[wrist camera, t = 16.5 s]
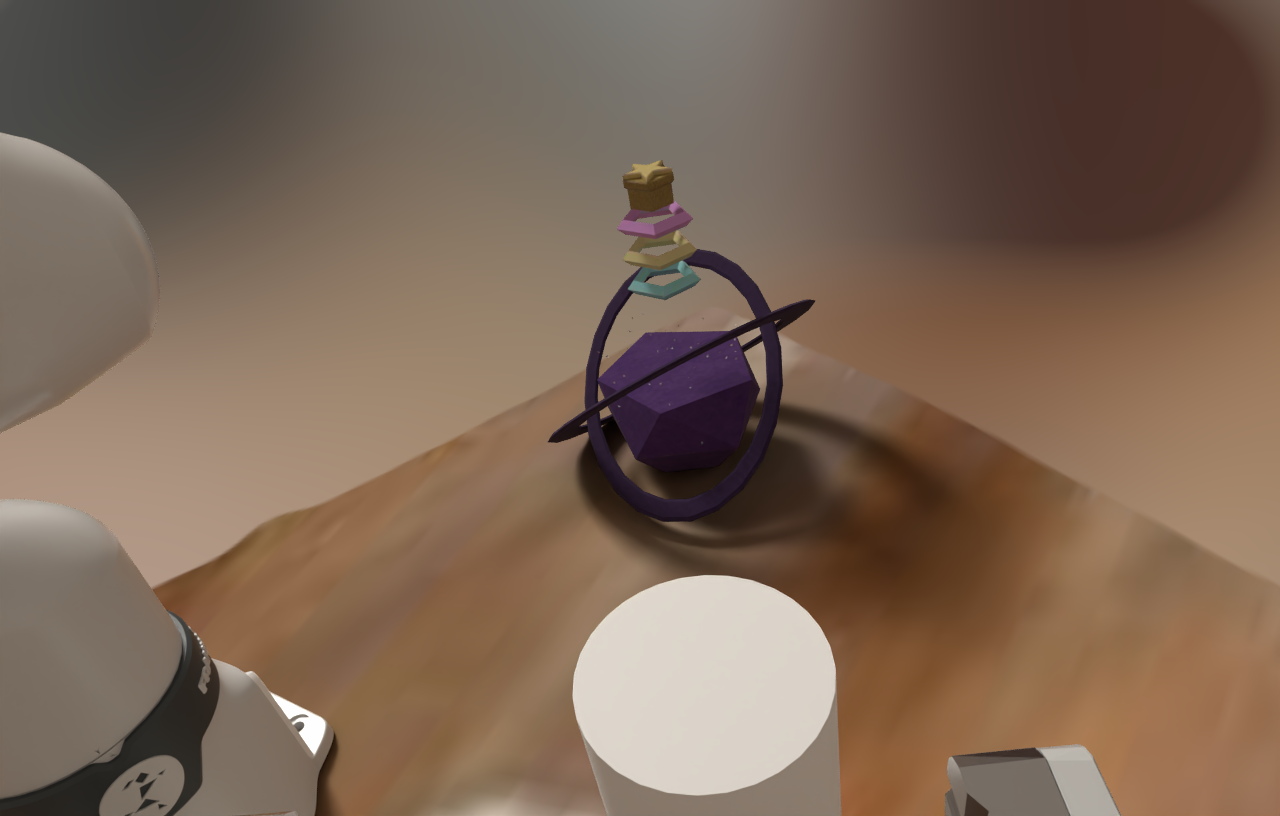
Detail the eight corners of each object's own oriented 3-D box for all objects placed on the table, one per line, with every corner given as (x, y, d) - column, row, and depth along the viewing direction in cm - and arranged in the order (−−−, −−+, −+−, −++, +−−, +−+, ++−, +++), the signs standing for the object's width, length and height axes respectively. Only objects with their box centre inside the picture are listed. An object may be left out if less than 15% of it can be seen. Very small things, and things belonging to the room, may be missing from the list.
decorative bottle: (714, 354, 86) (682, 102, 72) (874, 443, 71) (875, 144, 57) (521, 456, 77) (442, 189, 63) (658, 582, 62) (594, 268, 48)
